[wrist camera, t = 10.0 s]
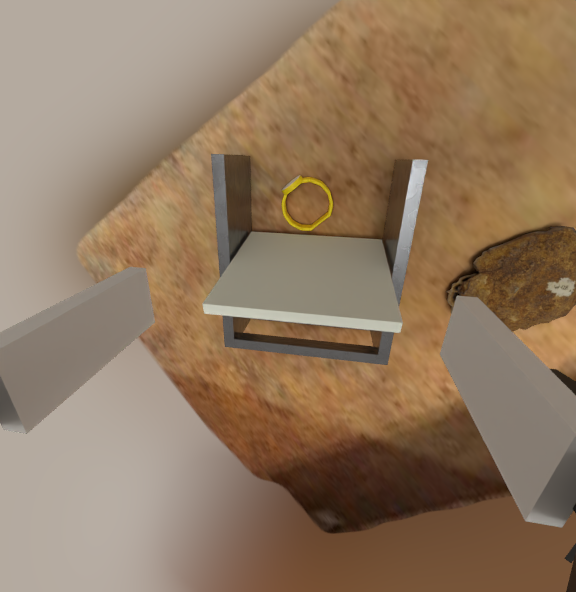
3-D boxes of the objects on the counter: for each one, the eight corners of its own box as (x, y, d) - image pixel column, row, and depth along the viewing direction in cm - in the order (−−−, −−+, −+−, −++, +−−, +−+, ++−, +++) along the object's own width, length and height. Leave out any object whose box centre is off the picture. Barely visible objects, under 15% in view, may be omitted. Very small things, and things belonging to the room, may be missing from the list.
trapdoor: (380, 247, 37) (381, 239, 36) (399, 332, 24) (402, 322, 23) (252, 238, 39) (251, 231, 38) (204, 313, 26) (202, 303, 25)
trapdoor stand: (406, 160, 33) (427, 160, 25) (378, 325, 42) (387, 364, 34) (240, 155, 36) (211, 154, 28) (245, 312, 45) (224, 346, 36)
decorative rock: (462, 339, 42) (585, 287, 37) (476, 357, 38) (614, 302, 33) (428, 274, 38) (559, 207, 34) (439, 287, 34) (588, 214, 30)
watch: (340, 206, 37) (313, 163, 35) (342, 212, 35) (313, 166, 32) (300, 233, 39) (272, 194, 37) (299, 240, 37) (269, 199, 35)
